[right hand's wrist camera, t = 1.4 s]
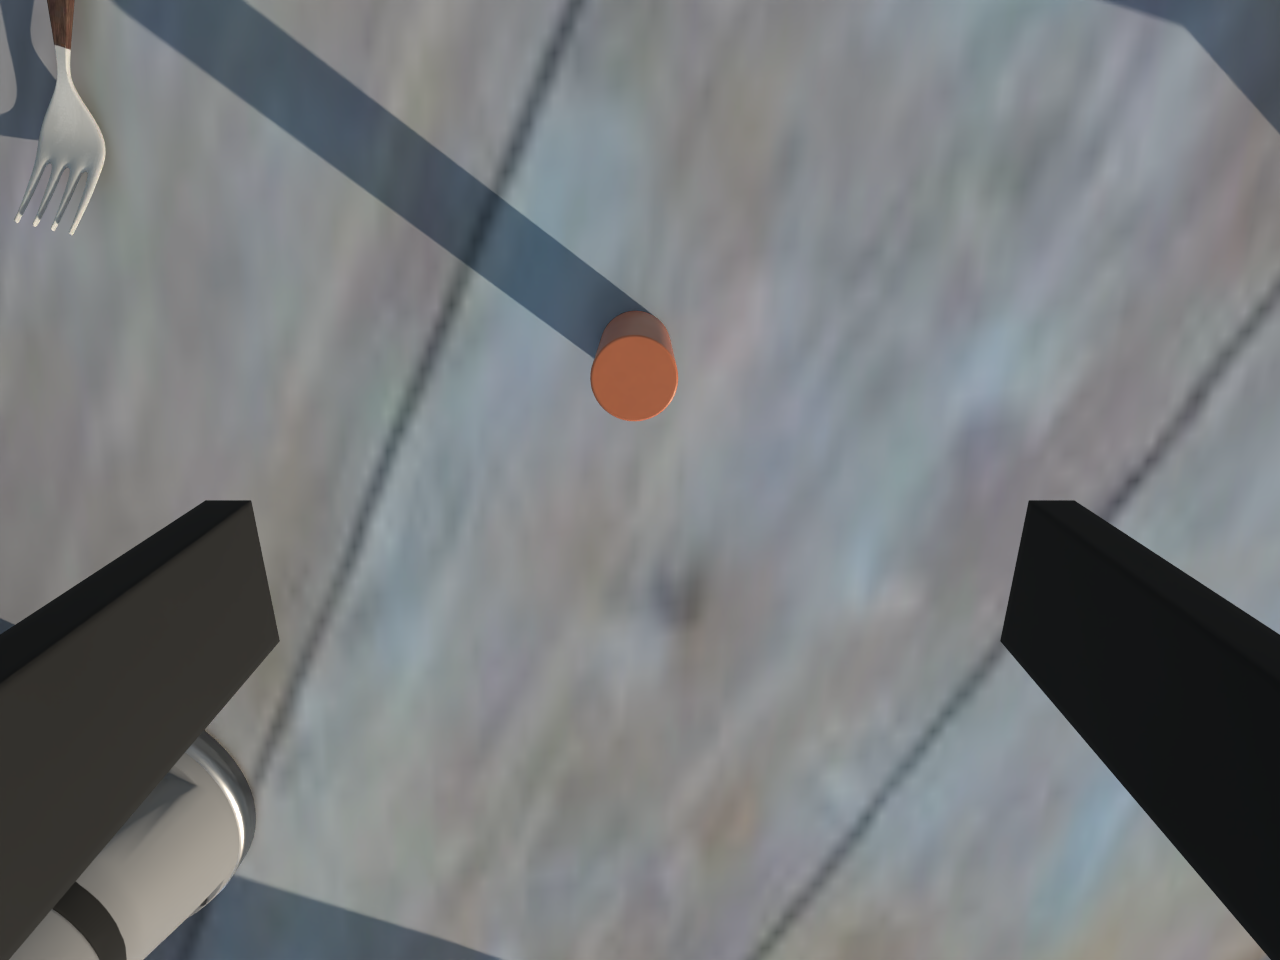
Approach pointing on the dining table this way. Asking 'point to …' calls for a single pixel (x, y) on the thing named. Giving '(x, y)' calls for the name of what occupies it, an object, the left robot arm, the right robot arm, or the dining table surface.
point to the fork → (65, 130)
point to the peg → (634, 367)
